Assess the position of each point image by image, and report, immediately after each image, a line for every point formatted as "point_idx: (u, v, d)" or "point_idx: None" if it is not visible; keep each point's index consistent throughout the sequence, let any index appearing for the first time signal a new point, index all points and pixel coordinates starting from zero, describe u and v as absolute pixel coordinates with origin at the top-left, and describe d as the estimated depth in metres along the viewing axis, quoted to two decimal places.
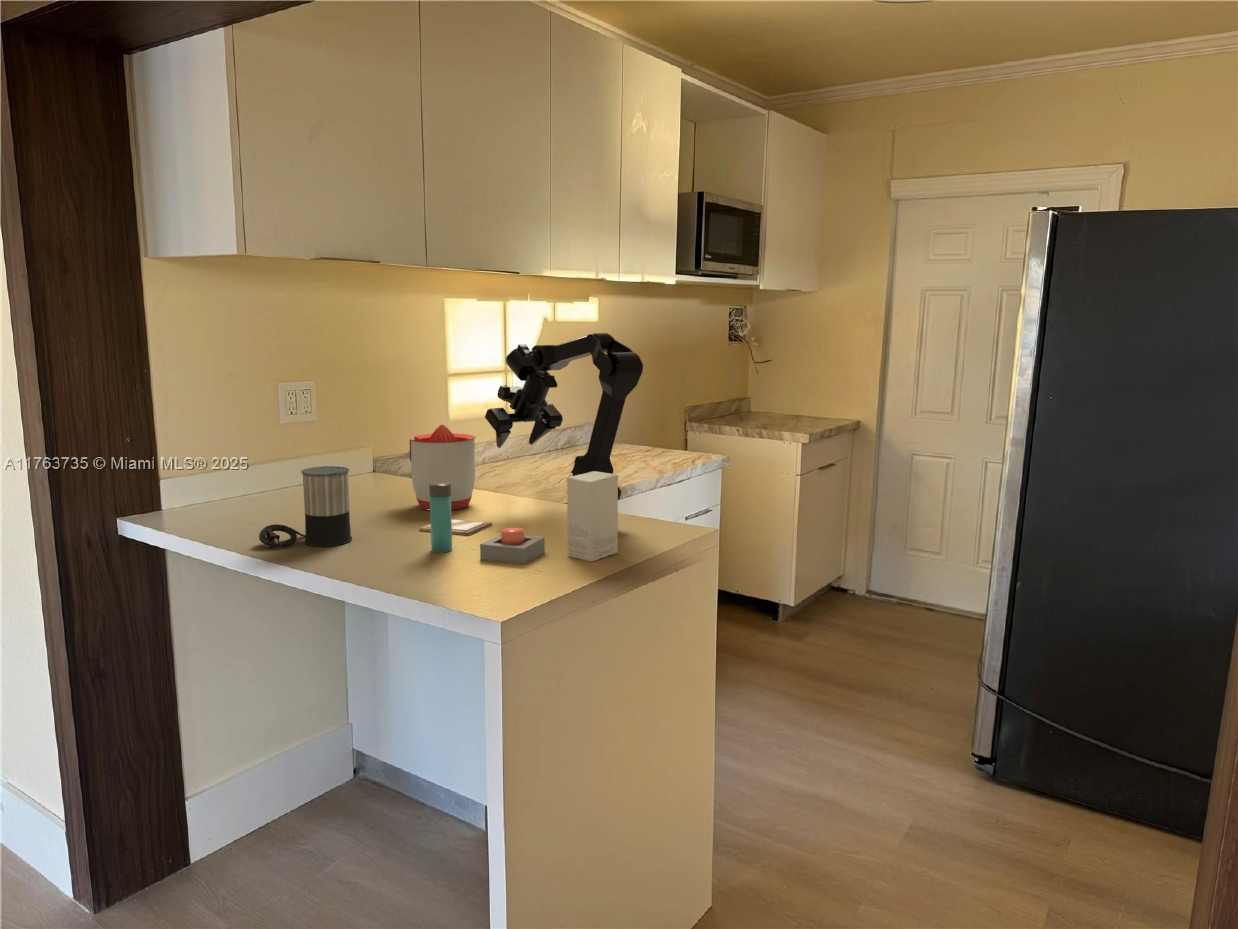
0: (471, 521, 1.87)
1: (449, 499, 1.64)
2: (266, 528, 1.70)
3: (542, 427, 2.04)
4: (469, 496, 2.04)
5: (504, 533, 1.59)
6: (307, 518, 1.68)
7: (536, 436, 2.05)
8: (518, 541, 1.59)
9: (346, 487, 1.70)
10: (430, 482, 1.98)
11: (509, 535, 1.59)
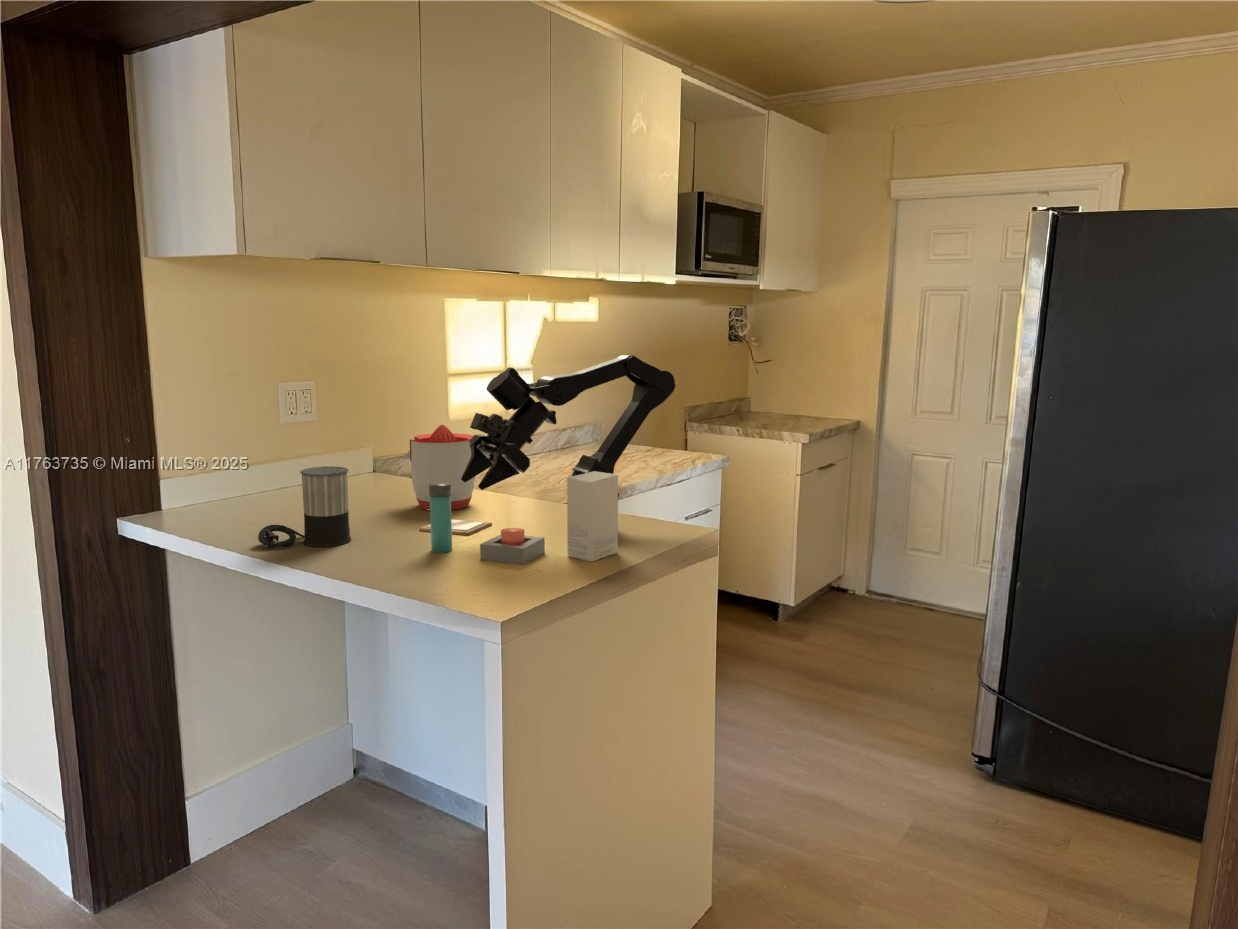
0: (471, 521, 1.87)
1: (449, 499, 1.64)
2: (265, 528, 1.70)
3: (486, 462, 1.74)
4: (469, 496, 2.04)
5: (504, 533, 1.59)
6: (306, 518, 1.68)
7: (476, 473, 1.72)
8: (518, 541, 1.59)
9: (345, 487, 1.70)
10: (430, 482, 1.98)
11: (509, 535, 1.59)
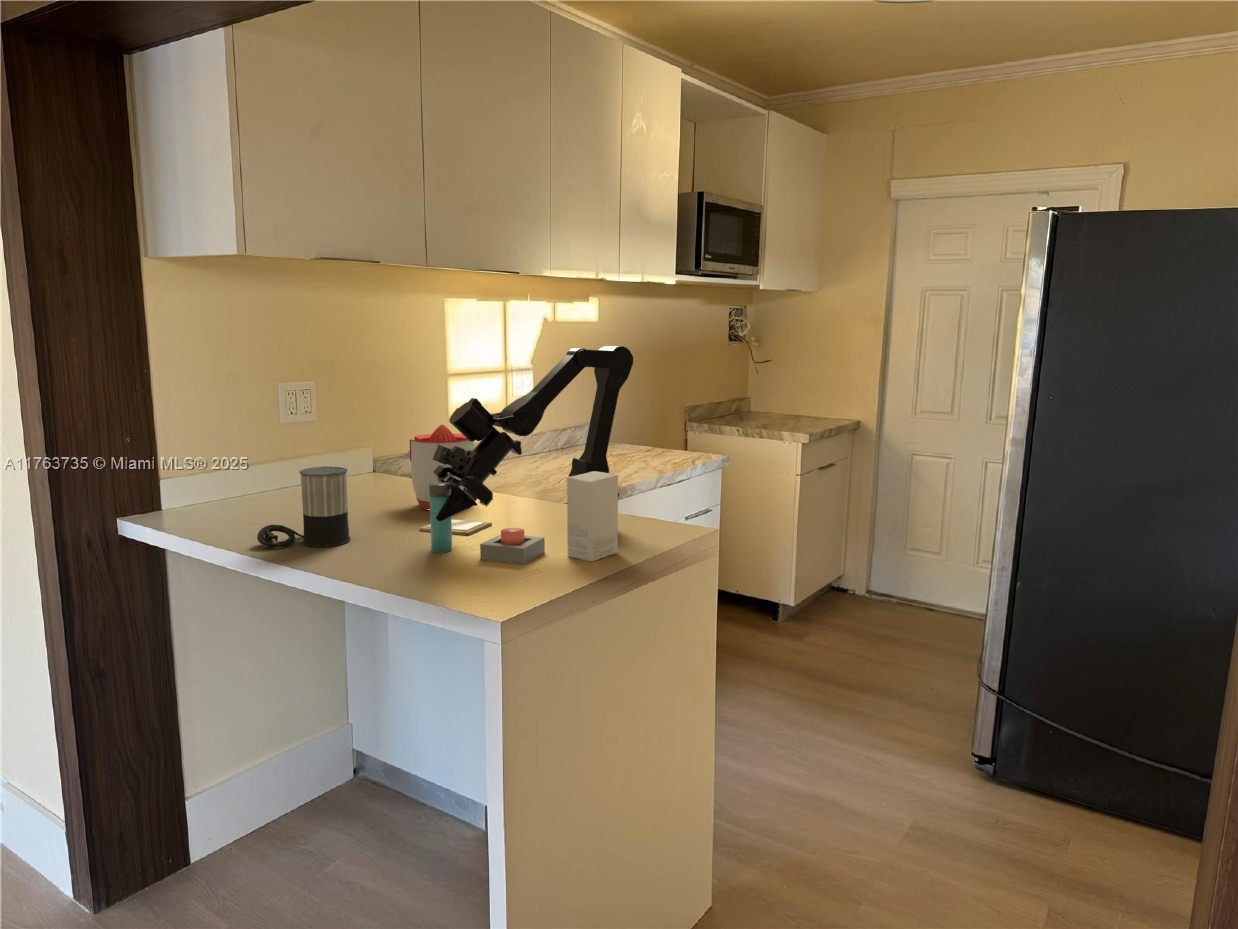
0: (471, 521, 1.87)
1: None
2: (264, 528, 1.70)
3: None
4: None
5: (504, 533, 1.59)
6: (305, 519, 1.68)
7: None
8: (518, 541, 1.59)
9: (344, 487, 1.69)
10: (430, 482, 1.98)
11: (509, 535, 1.59)
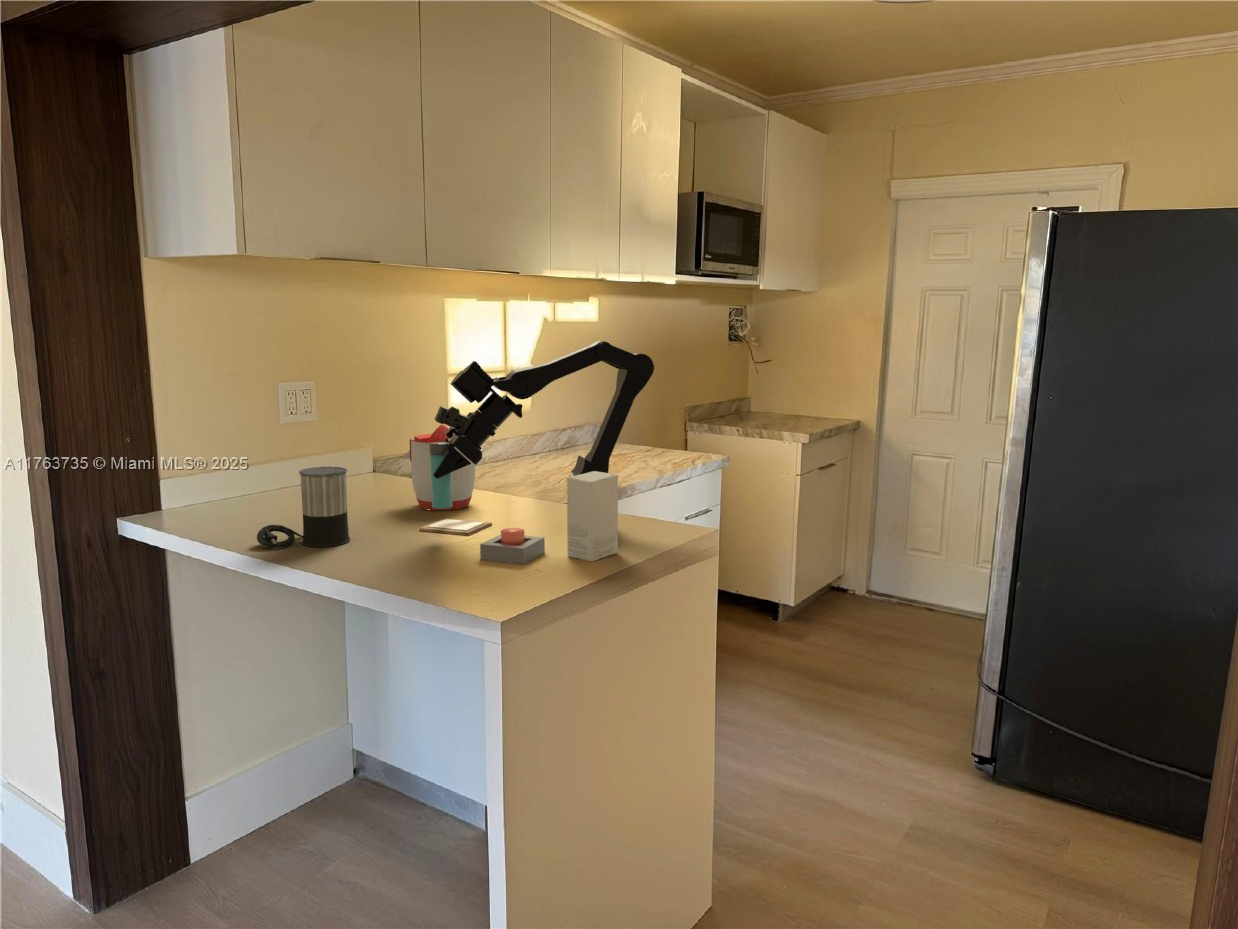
0: (471, 521, 1.87)
1: None
2: (264, 528, 1.70)
3: None
4: (469, 496, 2.04)
5: (504, 533, 1.59)
6: (304, 519, 1.68)
7: None
8: (518, 541, 1.59)
9: (344, 487, 1.69)
10: (430, 482, 1.98)
11: (509, 535, 1.59)
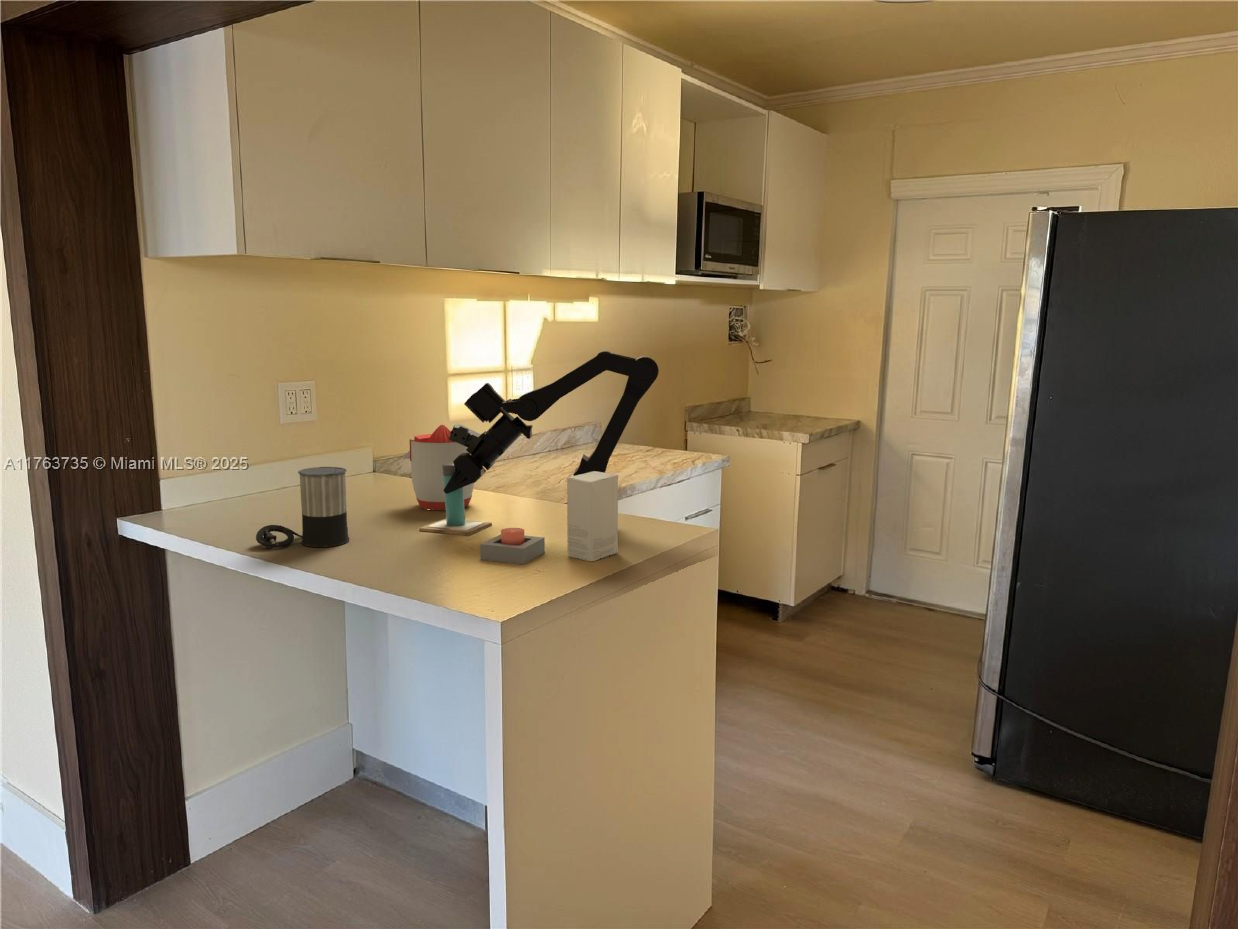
0: (471, 521, 1.87)
1: None
2: (263, 528, 1.69)
3: None
4: (469, 496, 2.04)
5: (504, 533, 1.59)
6: (304, 519, 1.68)
7: None
8: (518, 541, 1.59)
9: (343, 488, 1.69)
10: (430, 482, 1.98)
11: (509, 535, 1.59)
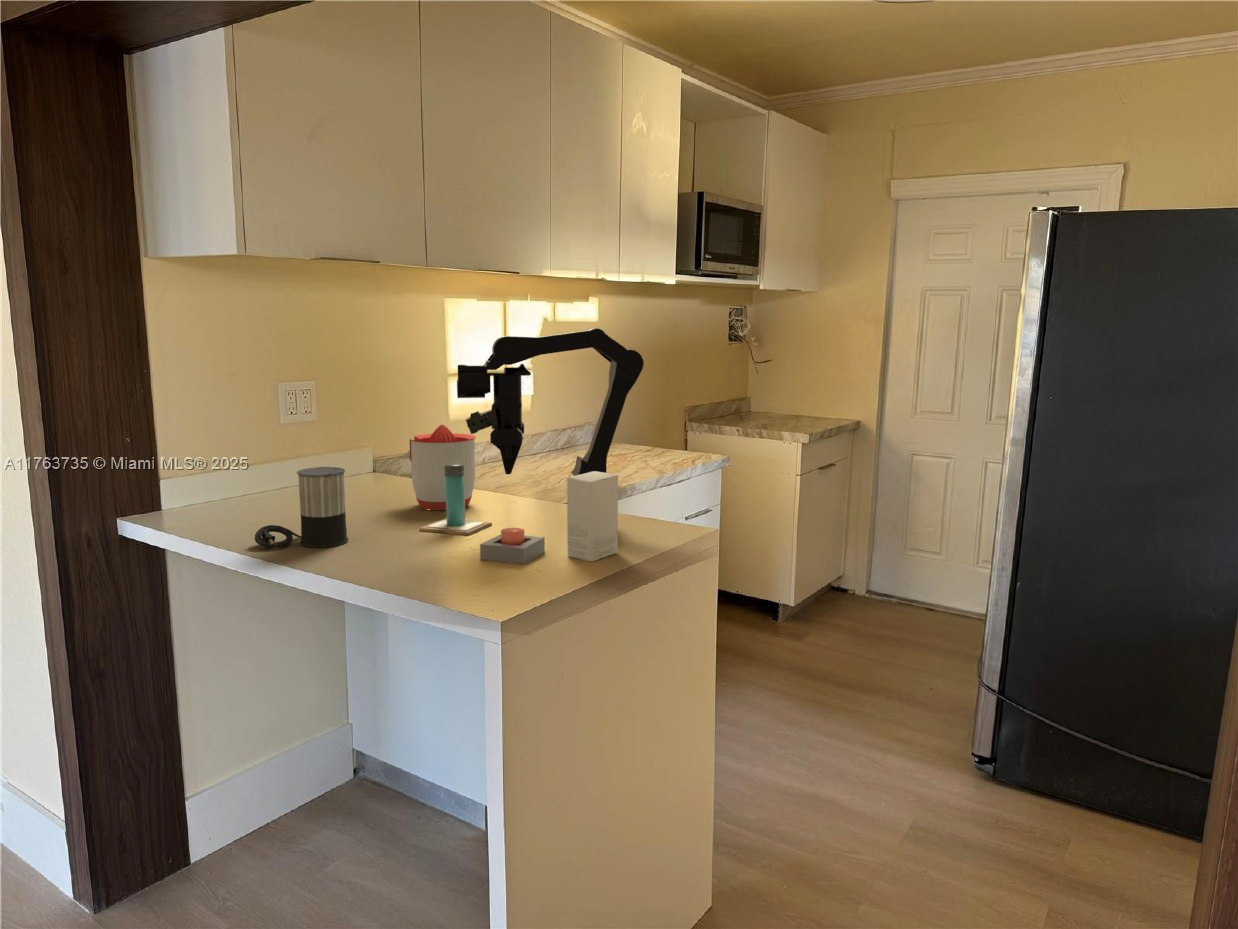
0: (471, 521, 1.87)
1: (459, 479, 1.81)
2: (262, 529, 1.69)
3: None
4: (469, 496, 2.04)
5: (504, 533, 1.59)
6: (302, 519, 1.68)
7: None
8: (518, 541, 1.59)
9: (342, 488, 1.69)
10: (430, 482, 1.98)
11: (509, 535, 1.59)
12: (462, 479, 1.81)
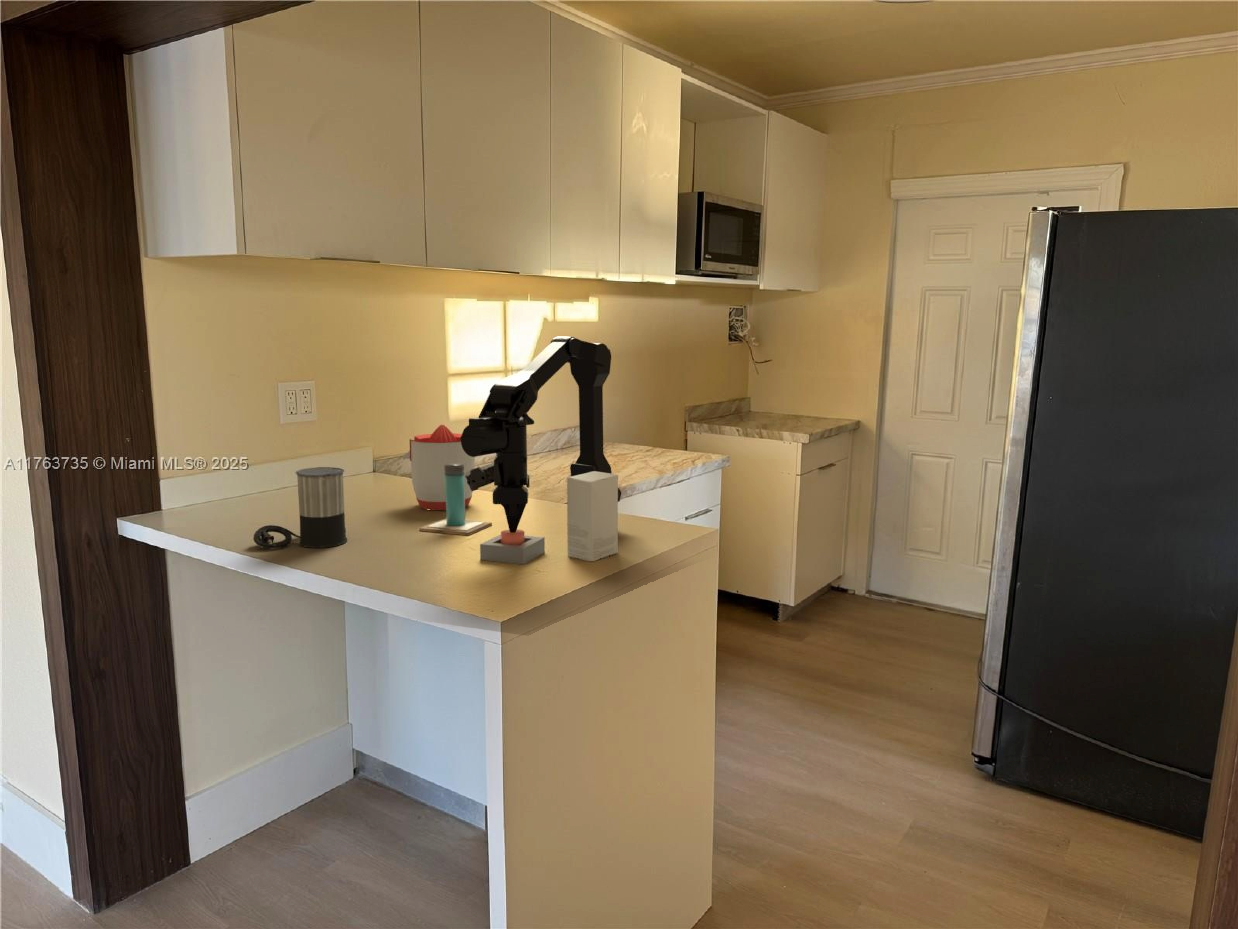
0: (471, 521, 1.87)
1: (459, 478, 1.81)
2: (261, 529, 1.69)
3: None
4: (469, 496, 2.04)
5: (504, 535, 1.59)
6: (301, 519, 1.67)
7: None
8: (518, 543, 1.59)
9: (341, 488, 1.69)
10: (430, 482, 1.98)
11: (510, 537, 1.59)
12: (462, 478, 1.82)
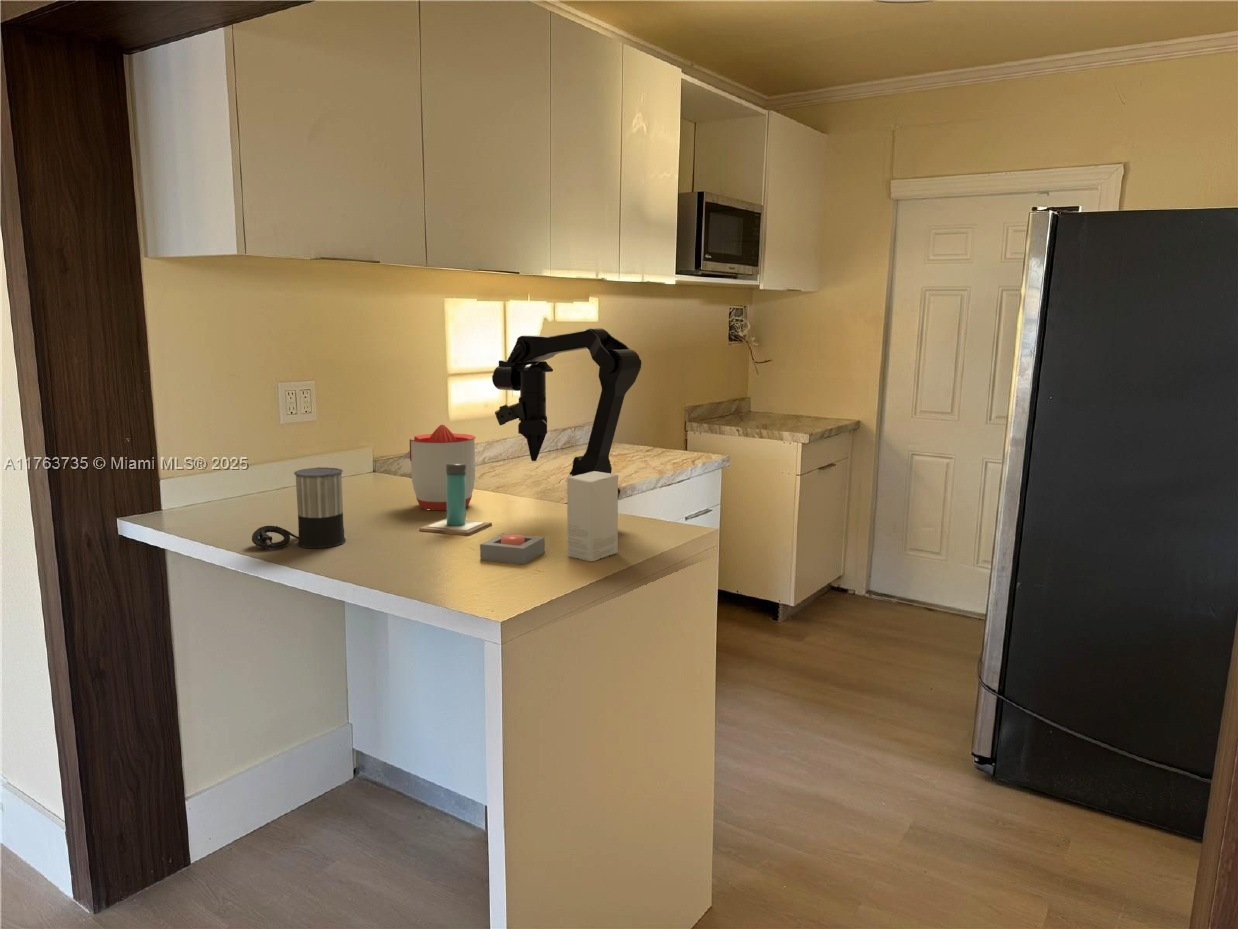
0: (471, 521, 1.87)
1: (461, 478, 1.81)
2: (259, 529, 1.69)
3: None
4: (469, 496, 2.04)
5: (504, 540, 1.60)
6: (299, 520, 1.67)
7: None
8: None
9: (339, 489, 1.68)
10: (430, 482, 1.98)
11: (510, 542, 1.59)
12: (464, 478, 1.82)
